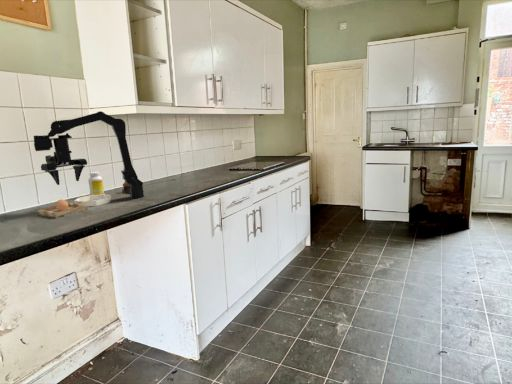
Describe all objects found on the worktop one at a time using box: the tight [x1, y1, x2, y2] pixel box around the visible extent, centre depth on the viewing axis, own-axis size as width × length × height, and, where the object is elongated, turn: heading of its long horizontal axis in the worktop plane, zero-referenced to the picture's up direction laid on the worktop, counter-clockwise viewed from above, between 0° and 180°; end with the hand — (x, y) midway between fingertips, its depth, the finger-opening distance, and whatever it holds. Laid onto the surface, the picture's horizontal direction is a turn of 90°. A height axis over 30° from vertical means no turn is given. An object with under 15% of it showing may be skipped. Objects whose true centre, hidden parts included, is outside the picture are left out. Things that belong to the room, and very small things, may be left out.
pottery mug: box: [121, 180, 130, 195], centre depth 192 cm, size 12×10×8 cm
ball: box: [55, 198, 69, 211], centre depth 154 cm, size 5×5×5 cm
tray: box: [37, 202, 88, 219], centre depth 155 cm, size 14×14×2 cm
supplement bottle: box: [88, 171, 105, 195], centre depth 186 cm, size 7×7×13 cm
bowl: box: [73, 193, 112, 208], centre depth 169 cm, size 15×15×3 cm
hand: (68, 182), depth 162 cm, fingers open, 9 cm apart
